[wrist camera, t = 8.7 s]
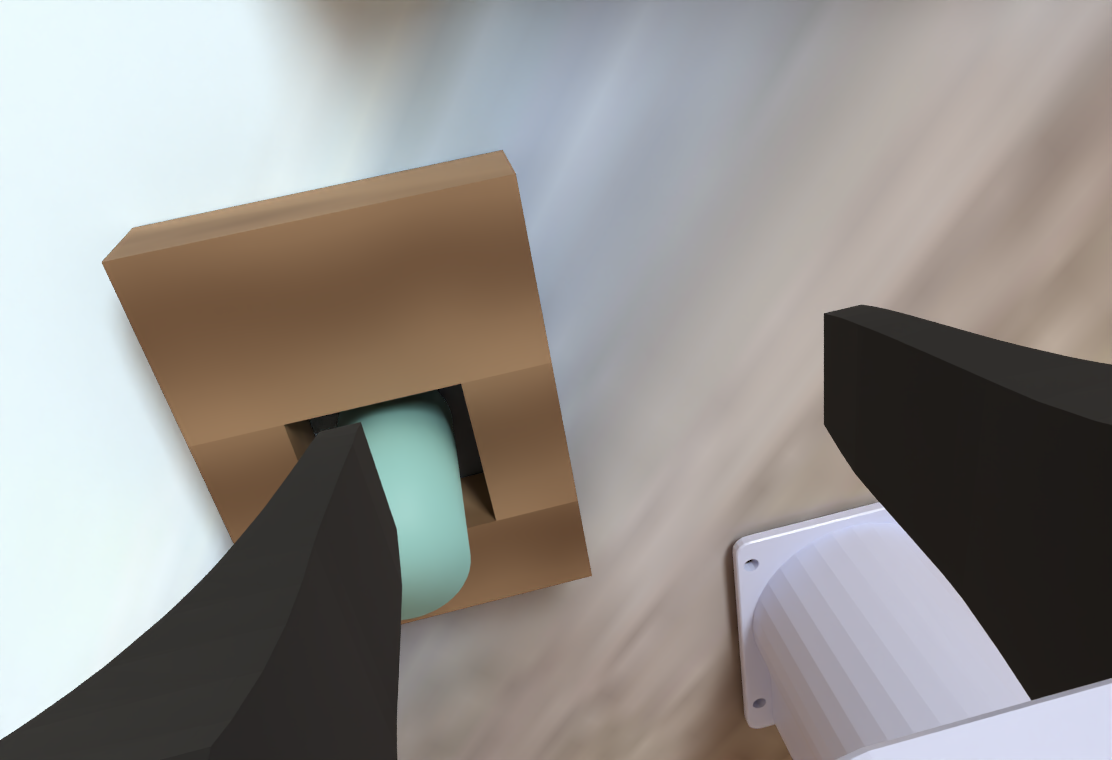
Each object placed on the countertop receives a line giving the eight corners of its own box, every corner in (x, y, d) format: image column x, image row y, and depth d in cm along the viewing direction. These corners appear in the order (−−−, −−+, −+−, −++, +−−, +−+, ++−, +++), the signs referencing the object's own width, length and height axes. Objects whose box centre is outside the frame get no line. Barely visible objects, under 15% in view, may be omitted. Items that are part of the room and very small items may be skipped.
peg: (463, 458, 24) (483, 600, 19) (355, 483, 24) (345, 635, 19) (438, 364, 22) (453, 491, 17) (323, 390, 22) (302, 526, 17)
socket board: (575, 525, 26) (591, 575, 24) (294, 595, 25) (285, 653, 23) (502, 149, 20) (515, 173, 18) (132, 227, 19) (101, 262, 17)
